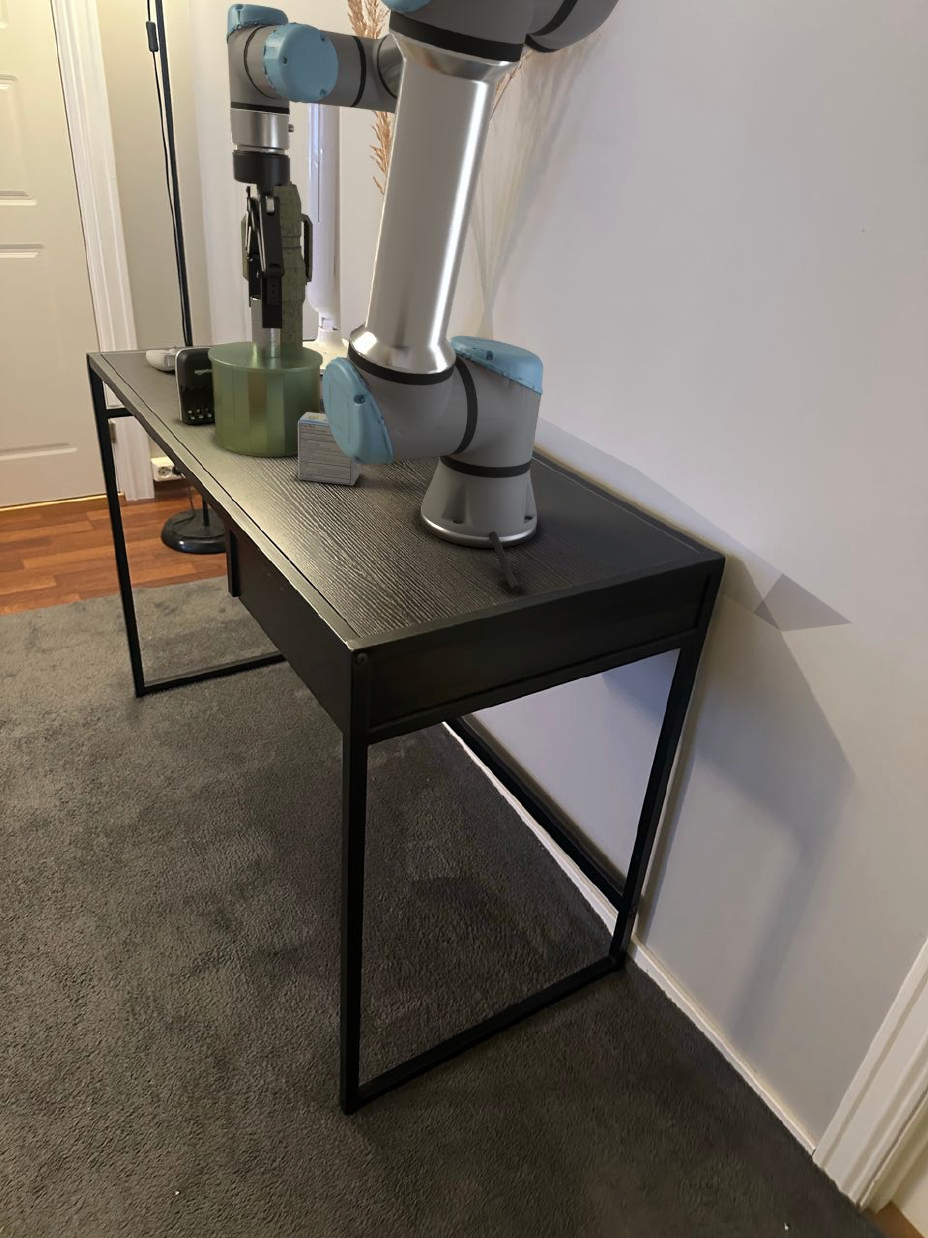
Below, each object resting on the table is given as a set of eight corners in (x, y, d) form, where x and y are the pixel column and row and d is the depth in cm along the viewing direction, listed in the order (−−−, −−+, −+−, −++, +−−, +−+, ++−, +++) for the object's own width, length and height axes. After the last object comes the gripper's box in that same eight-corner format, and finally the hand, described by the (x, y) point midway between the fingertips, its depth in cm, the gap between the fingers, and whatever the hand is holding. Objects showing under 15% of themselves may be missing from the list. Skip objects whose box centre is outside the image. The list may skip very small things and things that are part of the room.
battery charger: (188, 427, 131) (182, 353, 125) (177, 420, 133) (171, 348, 128) (229, 422, 135) (225, 350, 130) (218, 415, 138) (214, 344, 132)
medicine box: (359, 476, 120) (361, 417, 116) (353, 487, 116) (354, 426, 112) (306, 469, 120) (305, 410, 116) (297, 480, 117) (297, 419, 112)
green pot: (328, 455, 126) (329, 372, 120) (222, 458, 121) (217, 372, 115) (308, 423, 139) (308, 346, 132) (211, 424, 133) (207, 344, 127)
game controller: (217, 344, 166) (230, 345, 158) (220, 367, 167) (232, 369, 159) (142, 345, 159) (151, 346, 151) (145, 369, 161) (154, 371, 152)
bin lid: (333, 377, 120) (334, 311, 115) (214, 377, 114) (210, 307, 110) (311, 349, 133) (311, 288, 129) (203, 348, 128) (199, 284, 123)
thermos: (237, 399, 146) (227, 175, 129) (294, 391, 154) (292, 178, 136) (264, 413, 141) (258, 181, 123) (322, 404, 148) (324, 184, 131)
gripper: (307, 159, 101) (306, 338, 112) (275, 147, 121) (277, 300, 132) (244, 153, 99) (249, 336, 110) (221, 142, 119) (228, 298, 129)
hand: (264, 317), depth 121 cm, fingers open, 13 cm apart
